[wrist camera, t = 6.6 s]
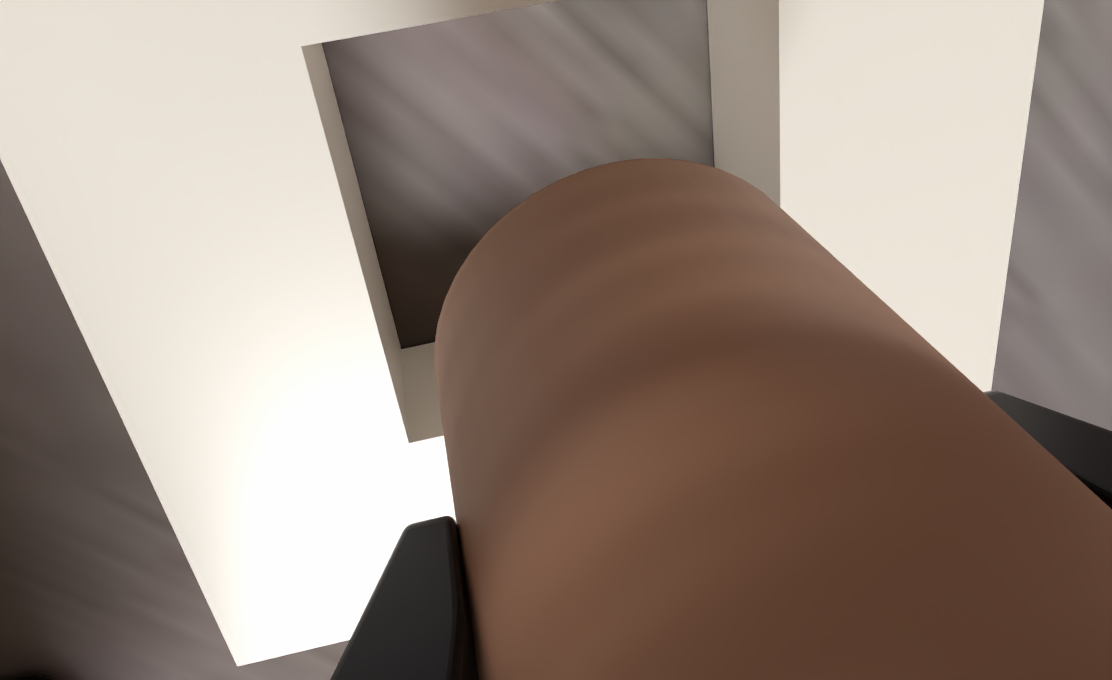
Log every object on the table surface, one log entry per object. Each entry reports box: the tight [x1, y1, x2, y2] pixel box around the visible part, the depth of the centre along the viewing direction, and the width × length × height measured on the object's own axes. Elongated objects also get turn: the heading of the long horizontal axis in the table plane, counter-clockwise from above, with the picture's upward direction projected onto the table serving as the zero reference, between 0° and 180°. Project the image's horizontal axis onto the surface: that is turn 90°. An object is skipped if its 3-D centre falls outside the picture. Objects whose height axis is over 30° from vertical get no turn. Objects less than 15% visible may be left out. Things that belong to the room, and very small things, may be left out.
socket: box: [0, 0, 1044, 666], centre depth 14 cm, size 14×14×3 cm
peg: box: [434, 159, 1112, 680], centre depth 7 cm, size 4×4×8 cm
